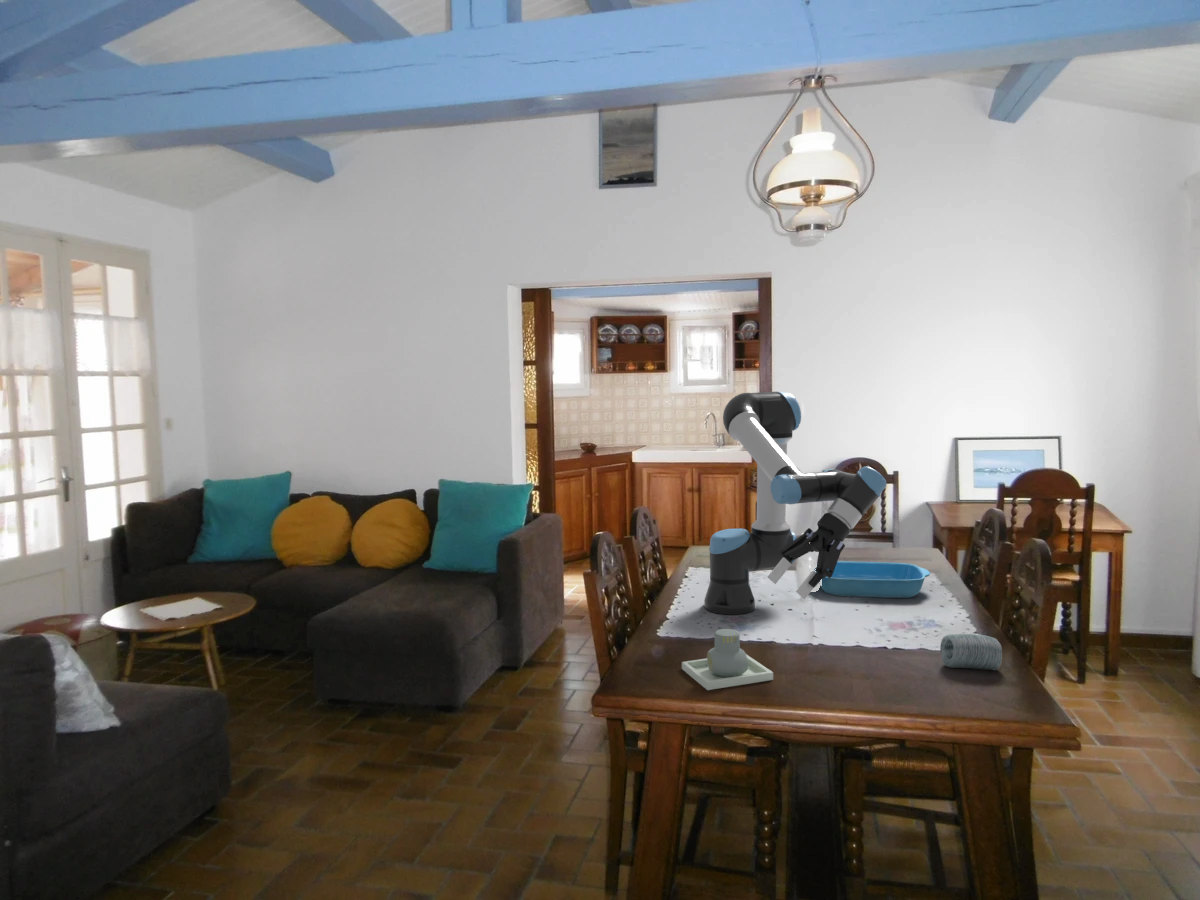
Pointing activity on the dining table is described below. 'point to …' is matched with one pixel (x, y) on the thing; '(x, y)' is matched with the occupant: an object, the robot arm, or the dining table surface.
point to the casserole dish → (875, 579)
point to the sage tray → (712, 681)
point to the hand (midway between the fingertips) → (785, 587)
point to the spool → (971, 651)
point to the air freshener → (727, 654)
